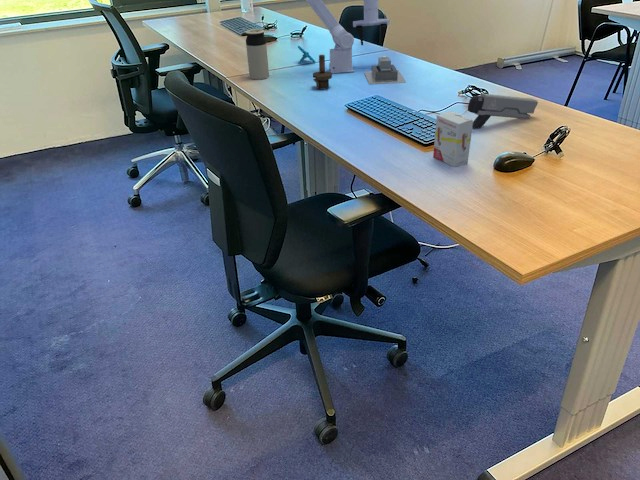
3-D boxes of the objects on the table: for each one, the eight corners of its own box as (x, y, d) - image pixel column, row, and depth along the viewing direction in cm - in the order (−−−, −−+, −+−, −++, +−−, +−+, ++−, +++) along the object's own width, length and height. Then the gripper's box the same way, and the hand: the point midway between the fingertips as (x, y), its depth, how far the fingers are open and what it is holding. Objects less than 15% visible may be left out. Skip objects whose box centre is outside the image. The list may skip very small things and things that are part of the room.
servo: (380, 79, 200) (381, 60, 196) (377, 73, 208) (377, 54, 204) (391, 79, 200) (391, 59, 196) (387, 72, 208) (387, 53, 205)
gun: (459, 125, 154) (470, 92, 150) (522, 130, 165) (534, 98, 160) (465, 128, 152) (475, 94, 148) (528, 132, 163) (539, 100, 158)
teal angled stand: (316, 61, 223) (299, 45, 220) (307, 72, 225) (290, 56, 222) (316, 59, 234) (299, 43, 230) (307, 69, 235) (290, 53, 232)
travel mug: (273, 76, 212) (269, 30, 202) (258, 81, 207) (253, 33, 197) (260, 73, 217) (255, 28, 207) (245, 77, 212) (240, 31, 202)
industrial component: (315, 91, 192) (314, 58, 186) (310, 86, 198) (308, 54, 192) (339, 88, 195) (338, 55, 188) (333, 83, 201) (332, 51, 194)
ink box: (431, 156, 139) (435, 114, 132) (445, 152, 141) (450, 110, 134) (454, 167, 132) (459, 123, 126) (468, 163, 134) (474, 119, 128)
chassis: (369, 84, 198) (369, 74, 196) (364, 73, 211) (364, 64, 209) (405, 82, 198) (406, 72, 196) (398, 71, 211) (398, 62, 209)
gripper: (353, 11, 203) (354, 47, 210) (390, 9, 203) (390, 45, 210) (352, 8, 209) (353, 43, 216) (388, 6, 209) (387, 41, 216)
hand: (371, 44), depth 214 cm, fingers open, 7 cm apart
